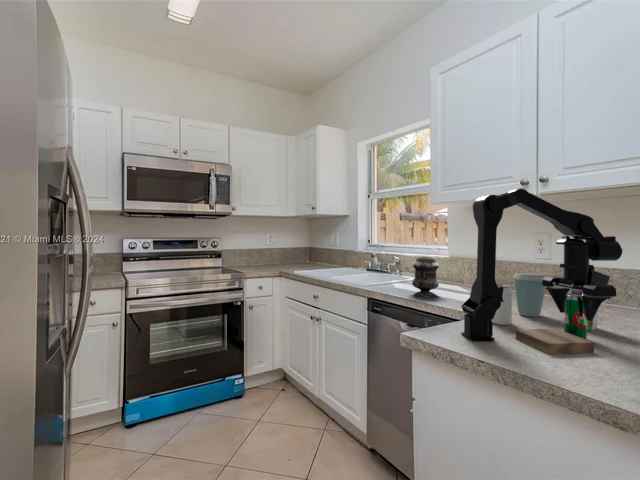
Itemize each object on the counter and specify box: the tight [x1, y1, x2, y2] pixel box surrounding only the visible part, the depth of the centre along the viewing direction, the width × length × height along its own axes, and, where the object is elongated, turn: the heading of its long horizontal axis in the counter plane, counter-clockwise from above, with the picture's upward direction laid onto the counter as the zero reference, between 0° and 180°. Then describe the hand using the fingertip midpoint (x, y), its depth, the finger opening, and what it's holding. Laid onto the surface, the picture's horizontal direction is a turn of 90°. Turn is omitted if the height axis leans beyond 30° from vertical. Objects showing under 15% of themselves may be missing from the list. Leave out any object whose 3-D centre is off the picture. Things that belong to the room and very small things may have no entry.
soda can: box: [563, 293, 588, 340], centre depth 95 cm, size 5×5×12 cm
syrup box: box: [569, 284, 599, 332], centre depth 105 cm, size 6×6×14 cm
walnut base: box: [515, 328, 595, 355], centre depth 89 cm, size 12×12×2 cm
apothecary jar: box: [411, 255, 440, 298], centre depth 159 cm, size 12×12×18 cm
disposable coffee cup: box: [513, 273, 547, 318], centre depth 122 cm, size 11×11×15 cm
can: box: [491, 284, 513, 326], centre depth 111 cm, size 6×6×12 cm
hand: (575, 316), depth 95 cm, fingers open, 9 cm apart
